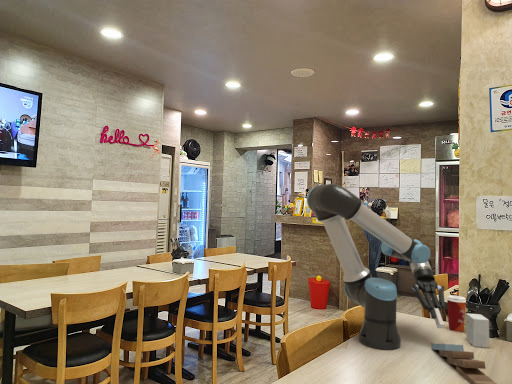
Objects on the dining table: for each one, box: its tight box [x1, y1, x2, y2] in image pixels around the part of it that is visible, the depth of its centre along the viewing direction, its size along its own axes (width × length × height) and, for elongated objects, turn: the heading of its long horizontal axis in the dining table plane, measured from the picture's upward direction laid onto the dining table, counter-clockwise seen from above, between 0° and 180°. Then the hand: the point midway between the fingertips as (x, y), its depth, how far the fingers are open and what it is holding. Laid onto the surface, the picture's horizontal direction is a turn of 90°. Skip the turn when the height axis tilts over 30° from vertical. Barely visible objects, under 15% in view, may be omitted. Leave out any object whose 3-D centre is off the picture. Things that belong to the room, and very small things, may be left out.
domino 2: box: [446, 357, 486, 370], centre depth 119 cm, size 2×6×12 cm
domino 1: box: [438, 350, 475, 360], centre depth 125 cm, size 2×6×12 cm
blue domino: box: [430, 342, 465, 351], centre depth 131 cm, size 2×6×12 cm
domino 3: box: [455, 365, 498, 384], centre depth 113 cm, size 2×6×12 cm
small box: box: [465, 312, 490, 349], centre depth 144 cm, size 8×6×10 cm
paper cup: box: [446, 294, 467, 333], centre depth 160 cm, size 8×8×14 cm
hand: (440, 326), depth 137 cm, fingers closed
